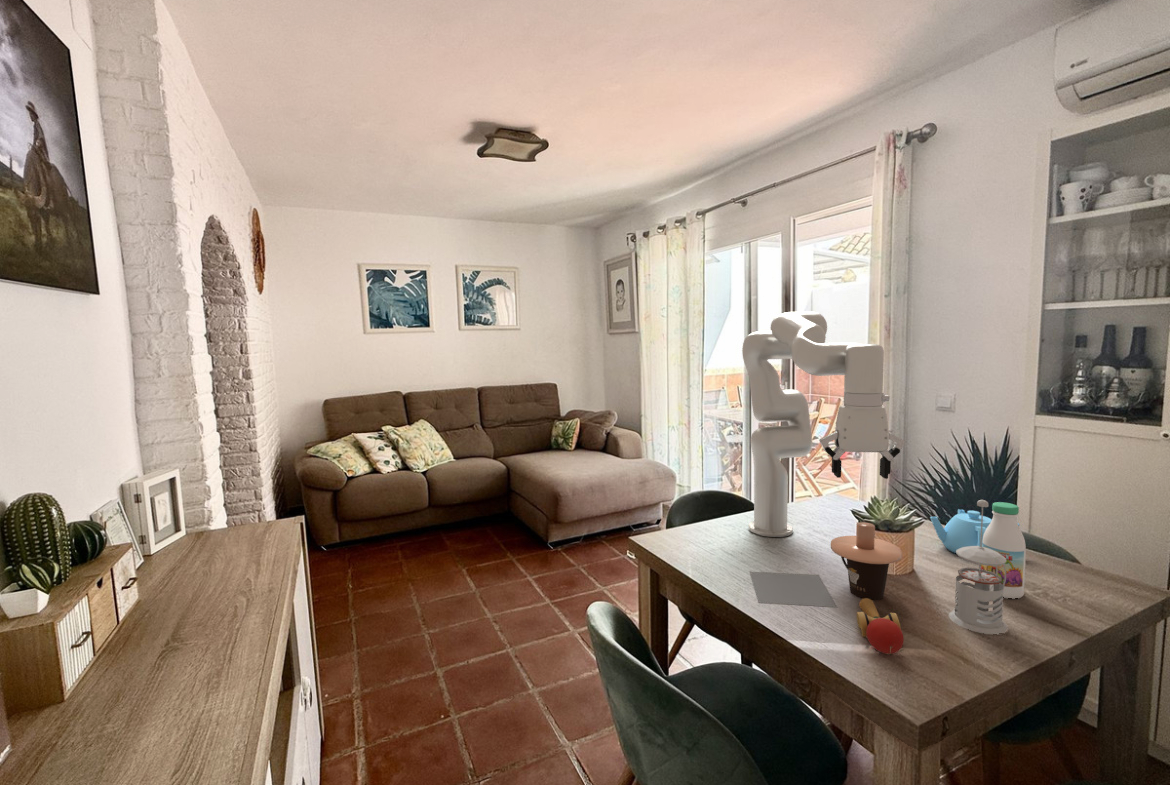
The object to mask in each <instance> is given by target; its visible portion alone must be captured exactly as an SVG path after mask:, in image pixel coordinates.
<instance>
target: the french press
mask: <svg viewBox="0 0 1170 785" xmlns="http://www.w3.org/2000/svg"><path fill="white" fill-rule="evenodd" d="M976 506H977V507H981V514H980V515H981V540H980V546H968V547H962V548H960V549H958V550H956V553H957V554H956V555H957V556H958V557H959V558H960V559H962V560H964V561H966V562H969V563H973V564H977V565H979V568H977V567H969V566H968V567H962V568H960V569H958V570H957V573H958V575H956V576H955V593H954V594H955V595H954V609H953V610H951V611H950V612H948V618H949V619H950V620H951V621H952V622H953V623H955V625H957V626H959V627H961V628H963V629H966V630H968V629H969V631H970V632H971V631H972V632H975V633H978V634H979V633H980V634H983V633H984V635H993V634H997V635H1000V634H999V633H1004V632H1005V631H1006V630H1007V629H1008V630H1009V627H1008V628H1007V626H1008V624H1007V623H1005V621H1004V620H1003V617H1004V616H1003V614H1004V613H1003V612H1004V610H1003V607H1004V602H1003V601H1004V598H1003V593H1004V585H1005V582H1006V568H1005V565H1004V564H1005V563H1006V558H1005V557H1003V556H1002V555H1001V554H999V553H998V552H996V551H994V550H992V549H989V548H985V547H982V524H983V516H984V508H989V502H988V501H987V500H984V499H980V500H978V501H977V502H976ZM981 565H988V566H994V567H996V574H994V573H992V572H991V571H990V572H989V571H987V570H983V569H982V570H981ZM999 565H1003V566H1004V569H1005V578H1004V583H1003V585H1002V584H1001V582H1002V578H1001V577H1000V576H999V575H997V574H998V568H997V566H999ZM963 580H966V581H963ZM960 581H963V582H960ZM967 581H970V582H967ZM971 582H973V583H974V584H973V583H971ZM990 585H993V586H992V587H991V588H990ZM993 587H994V591H991V589H992V588H993ZM990 602H992V604H990ZM989 609H992V610H989ZM1004 634H1005V633H1004Z"/></svg>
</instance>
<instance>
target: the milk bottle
mask: <svg viewBox="0 0 1170 785" xmlns="http://www.w3.org/2000/svg"><path fill="white" fill-rule="evenodd" d="M991 509H992V511H991V513H992V518H991V520H992V521H991V523H990V524H989V526H988V527H987V529H986V530H985V533H984V535H983V541H982V547H985V548H989V549H992V550H994V551H996V552H998V553H999V554H1001V555H1002V556H1003V557H1005V558H1006V563H1005V564H1004V565H1005V568H1006V582H1005V585H1004V593H1003V597H1004V598H1003V599H1008V598H1012V599H1011V600H1016V599H1015V598H1018V599H1021V598H1022V597H1023V596H1024V593H1025V577H1026V576H1025V575H1026V557H1027V555H1026V554H1027V553H1026V552H1027V551H1026V549H1027V548H1026V547H1027V546H1026V541H1025V537H1024V534H1023V532H1022V531H1021V529H1020V526H1018V523H1019V522H1018V517H1019V513H1020V512H1019V511H1020V508H1019V506H1018V505H1016V504H1013V503H1009V502H1002V501H998V502H992V504H991ZM997 568H998V574H997V575H999V576H1000V577H1001V578H1002V582H1001V584H1002V585H1003V583H1004V578H1005V569H1004V566H1003V565H999V566H997ZM982 569H983V570H987V571H989V572H990V571H991V572H992V573H994V574H996V567H994V566H988V565H981V570H982ZM992 586H993V585H990V588H991V587H992ZM991 591H994V587H993V588H992V589H991Z"/></svg>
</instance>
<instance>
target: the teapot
mask: <svg viewBox="0 0 1170 785" xmlns="http://www.w3.org/2000/svg"><path fill="white" fill-rule="evenodd" d="M965 511H966V510H964V509H959V508H958V509H957V514H955V515H953V517H952V518H950V519H949V521H947V523H946V525H945V526H944V527H943V525H942V523H941V522H940V520H939V517H938V516H930V517H929V520H930V521H931V523H932V525H933V528H934V530H935V532H936V535H937V537H938V539H939V540H940V542H941V543H942V545H944V546H945V548H946V549H947V550H948V551H949V552H951V553H953V552H954V553H953V554H955V553H956V550H958V549H960V548H962V547H968V546H980V540H981V515H982V514H981V512H980V511H977V510H967V512H965ZM991 521H992V518H990V517H988V516H985V515H983V524H982V541H983V535H984V533H985V530H986V529H987V527H988V526H989V524H990V523H991ZM1018 526H1019V527H1020V523H1019V522H1018ZM956 555H957V553H956Z"/></svg>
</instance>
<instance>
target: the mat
mask: <svg viewBox="0 0 1170 785" xmlns="http://www.w3.org/2000/svg"><path fill="white" fill-rule="evenodd" d="M749 574H750V578H751V582H752V584H753V588H754V591H755V595H756V599H757V601H758V603H759V604H769V605H771V604H773V605H774V604H775V605H788V606H789V605H790V606H805V607H820V608H821V607H824V608H838V607H839V606H838V605H837V603H836V602H835V600H834V598H833V596H832V595H831V593H830V592H829V590H828V588H827V586H826V584H825V583H824V581H823V580H822V578H821V576H820V575H819V574H812V573H811V574H809V573H808V574H806V573H789V572H769V571H768V572H767V571H751V570H750V571H749Z"/></svg>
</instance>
